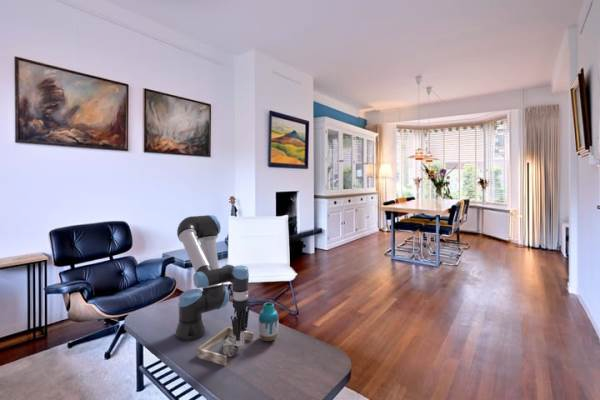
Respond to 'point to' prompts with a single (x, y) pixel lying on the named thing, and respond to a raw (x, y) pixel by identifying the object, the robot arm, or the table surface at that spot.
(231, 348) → the mineral rock
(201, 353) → the u-shaped wooden frame
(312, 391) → the table surface
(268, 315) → the vase
